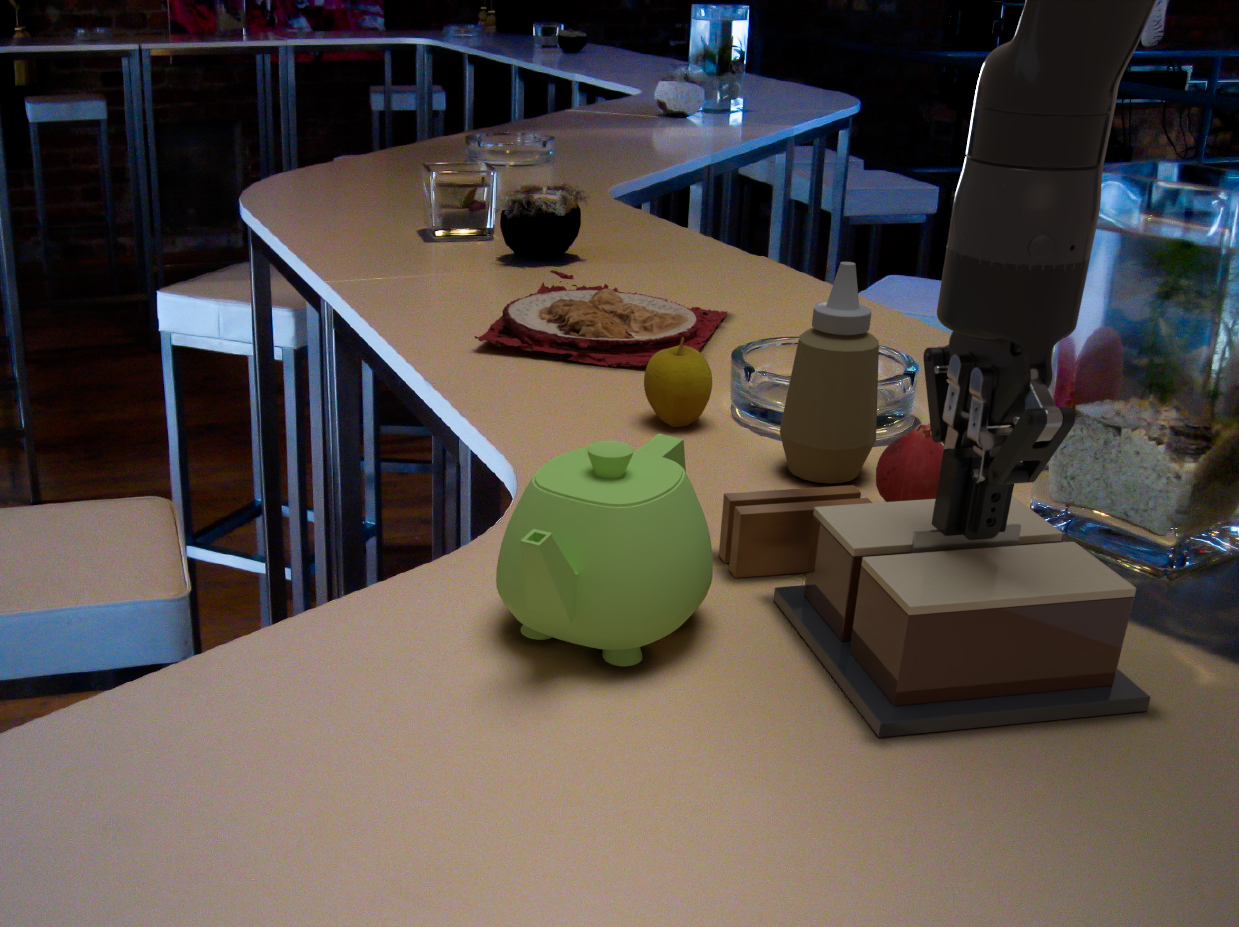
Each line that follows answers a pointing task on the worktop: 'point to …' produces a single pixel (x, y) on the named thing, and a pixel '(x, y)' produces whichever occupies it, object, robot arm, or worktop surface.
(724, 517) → the knife block
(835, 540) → the cake
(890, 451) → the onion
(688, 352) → the apple
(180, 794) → the worktop surface
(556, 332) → the plate with food
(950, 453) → the knife
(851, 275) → the squeeze bottle
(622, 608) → the teapot
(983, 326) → the robot arm
